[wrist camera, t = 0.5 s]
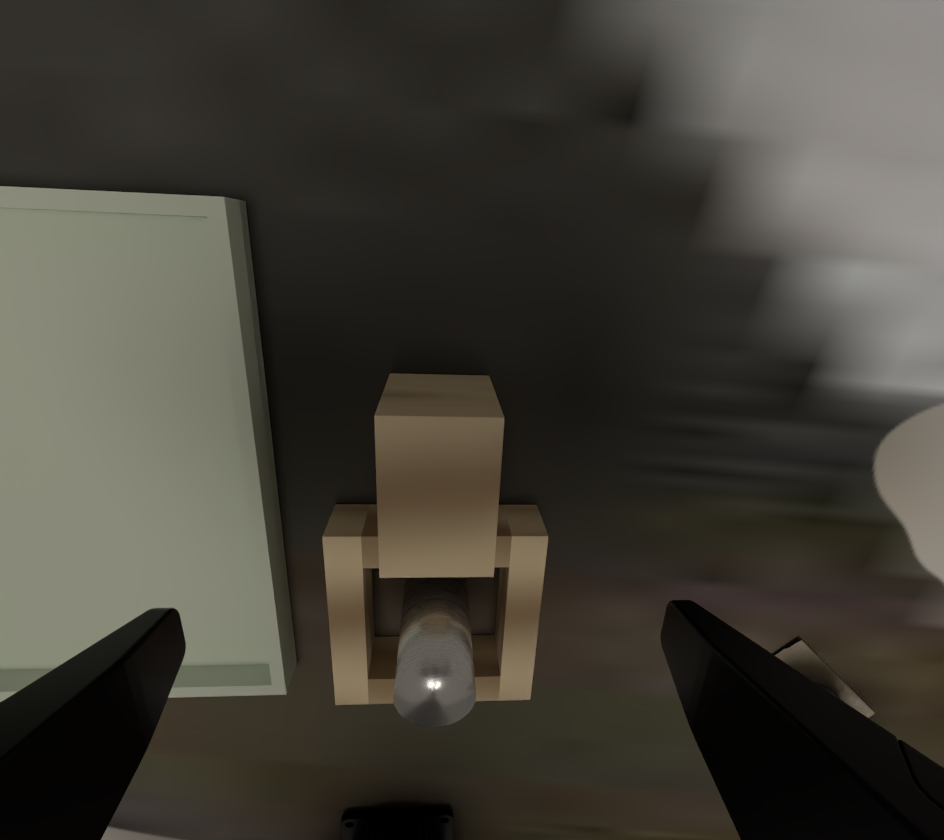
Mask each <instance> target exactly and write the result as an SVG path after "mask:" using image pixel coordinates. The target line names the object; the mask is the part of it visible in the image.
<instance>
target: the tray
mask: <svg viewBox="0 0 944 840" xmlns="http://www.w3.org/2000/svg"><path fill="white" fill-rule="evenodd" d="M152 608H175V609H177V610H178V612H179V614H180V618H181V623H182V628H183V632H184V637H185V642H186V650H185V655H184V659H183V661H182V664H181V666H180V669H179V671H178V674H177V676H176V679H175V681H174V684H173V686H172V689H171V691H170V694H169V696H168V698H171V697H211V696H250V695H286V694H287V691H288V688H289V685H290V682H291V679H292V676H293V673H294V670H295V667H296V664H297V659H296V650H295V641H294V632H293V623H292V614H291V605H290V596H289V587H288V578H287V569H286V560H285V551H284V542H283V533H282V524H281V515H280V506H279V497H278V488H277V479H276V471H275V462H274V453H273V444H272V435H271V426H270V417H269V408H268V399H267V390H266V381H265V372H264V363H263V354H262V345H261V336H260V327H259V318H258V309H257V300H256V291H255V282H254V273H253V264H252V255H251V246H250V237H249V228H248V219H247V210H246V201H242V200H237V199H232V198H227V197H216V196H195V195H175V194H154V193H133V192H112V191H91V190H70V189H50V188H29V187H8V186H0V702H2V701H3V700H5V699H6V698H8V697H10V696H11V695H13V694H15V693H16V692H18V691H19V690H21V689H23V688H24V687H26V686H27V685H29V684H30V683H32V682H34V681H35V680H37V679H38V678H40V677H42V676H43V675H45V674H46V673H48V672H50V671H51V670H53V669H54V668H56V667H58V666H59V665H61V664H62V663H64V662H66V661H67V660H69V659H70V658H72V657H74V656H75V655H77V654H78V653H80V652H82V651H83V650H85V649H86V648H88V647H90V646H91V645H93V644H94V643H96V642H98V641H99V640H101V639H102V638H104V637H106V636H107V635H109V634H110V633H112V632H114V631H115V630H117V629H118V628H120V627H122V626H123V625H125V624H126V623H128V622H130V621H131V620H133V619H134V618H136V617H138V616H139V615H141V614H142V613H144V612H146V611H147V610H149V609H152Z"/></svg>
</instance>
